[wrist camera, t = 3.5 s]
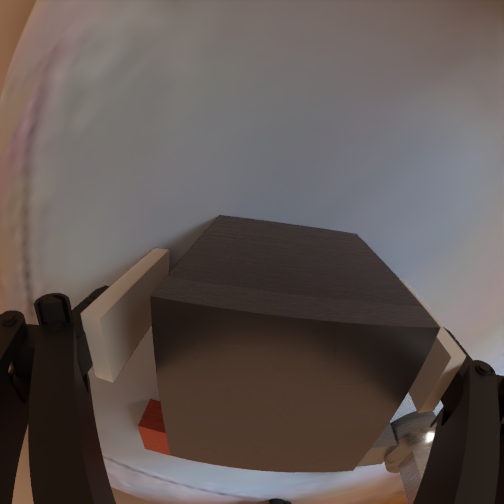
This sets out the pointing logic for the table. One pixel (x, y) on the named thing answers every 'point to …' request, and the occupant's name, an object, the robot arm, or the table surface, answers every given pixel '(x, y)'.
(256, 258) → the dark wooden cube
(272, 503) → the toy
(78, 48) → the table surface
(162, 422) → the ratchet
